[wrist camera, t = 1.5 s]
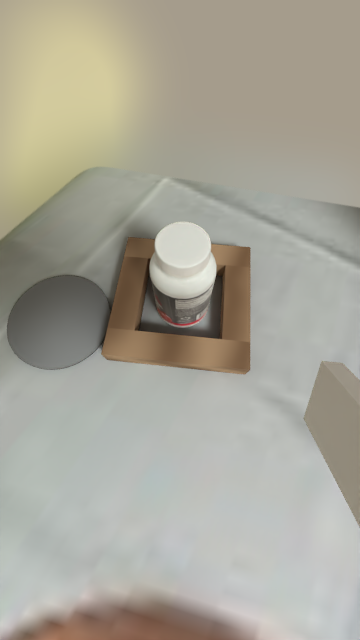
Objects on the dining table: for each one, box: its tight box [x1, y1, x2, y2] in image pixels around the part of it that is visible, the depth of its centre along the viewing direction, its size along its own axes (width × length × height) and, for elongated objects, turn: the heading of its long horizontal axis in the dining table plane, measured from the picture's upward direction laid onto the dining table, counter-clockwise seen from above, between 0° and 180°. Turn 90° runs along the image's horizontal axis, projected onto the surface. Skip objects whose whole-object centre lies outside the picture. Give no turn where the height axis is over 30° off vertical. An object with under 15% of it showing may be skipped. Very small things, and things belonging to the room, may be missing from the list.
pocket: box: [101, 237, 250, 374], centre depth 26 cm, size 13×13×2 cm
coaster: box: [7, 275, 111, 370], centre depth 26 cm, size 10×10×1 cm
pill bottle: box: [149, 222, 217, 328], centre depth 23 cm, size 5×5×10 cm
